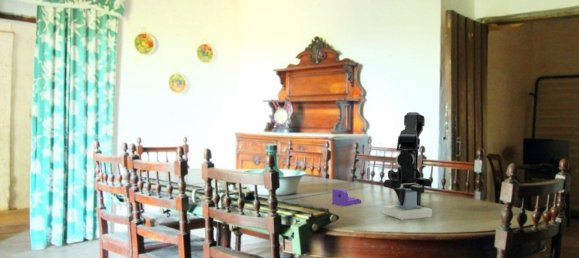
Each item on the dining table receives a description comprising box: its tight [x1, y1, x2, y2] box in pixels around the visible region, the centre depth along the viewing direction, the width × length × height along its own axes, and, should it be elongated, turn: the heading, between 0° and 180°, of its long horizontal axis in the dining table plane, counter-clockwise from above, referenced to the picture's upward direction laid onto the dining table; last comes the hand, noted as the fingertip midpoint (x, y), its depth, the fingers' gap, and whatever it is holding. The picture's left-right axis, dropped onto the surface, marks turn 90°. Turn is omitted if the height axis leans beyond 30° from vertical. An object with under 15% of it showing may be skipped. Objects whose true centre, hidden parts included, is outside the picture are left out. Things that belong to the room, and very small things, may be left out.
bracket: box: [331, 188, 362, 207], centre depth 205 cm, size 12×7×7 cm, turn 135°
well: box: [382, 204, 433, 221], centre depth 181 cm, size 14×12×3 cm
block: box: [397, 190, 417, 210], centre depth 181 cm, size 5×5×7 cm
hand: (407, 205), depth 181 cm, fingers closed on block, 5 cm apart
